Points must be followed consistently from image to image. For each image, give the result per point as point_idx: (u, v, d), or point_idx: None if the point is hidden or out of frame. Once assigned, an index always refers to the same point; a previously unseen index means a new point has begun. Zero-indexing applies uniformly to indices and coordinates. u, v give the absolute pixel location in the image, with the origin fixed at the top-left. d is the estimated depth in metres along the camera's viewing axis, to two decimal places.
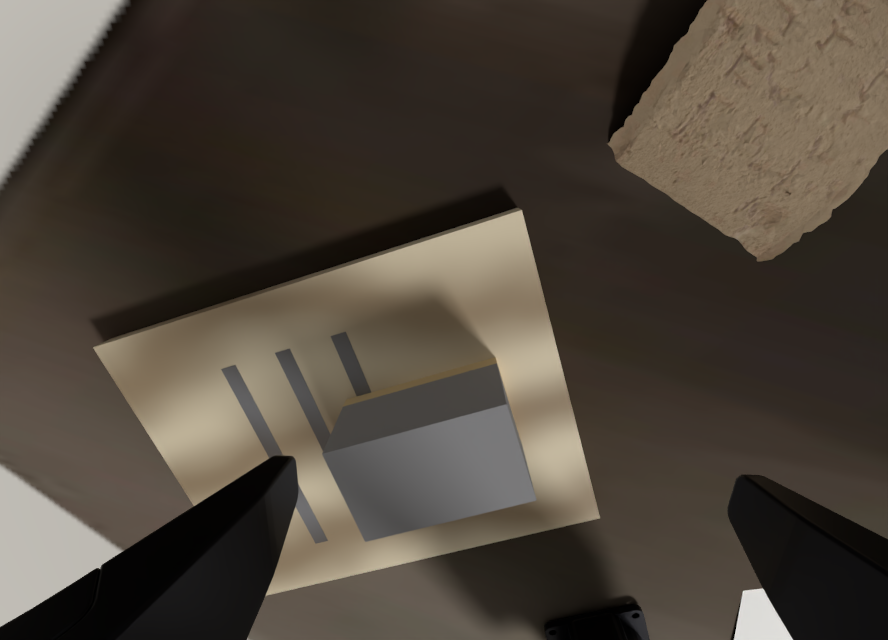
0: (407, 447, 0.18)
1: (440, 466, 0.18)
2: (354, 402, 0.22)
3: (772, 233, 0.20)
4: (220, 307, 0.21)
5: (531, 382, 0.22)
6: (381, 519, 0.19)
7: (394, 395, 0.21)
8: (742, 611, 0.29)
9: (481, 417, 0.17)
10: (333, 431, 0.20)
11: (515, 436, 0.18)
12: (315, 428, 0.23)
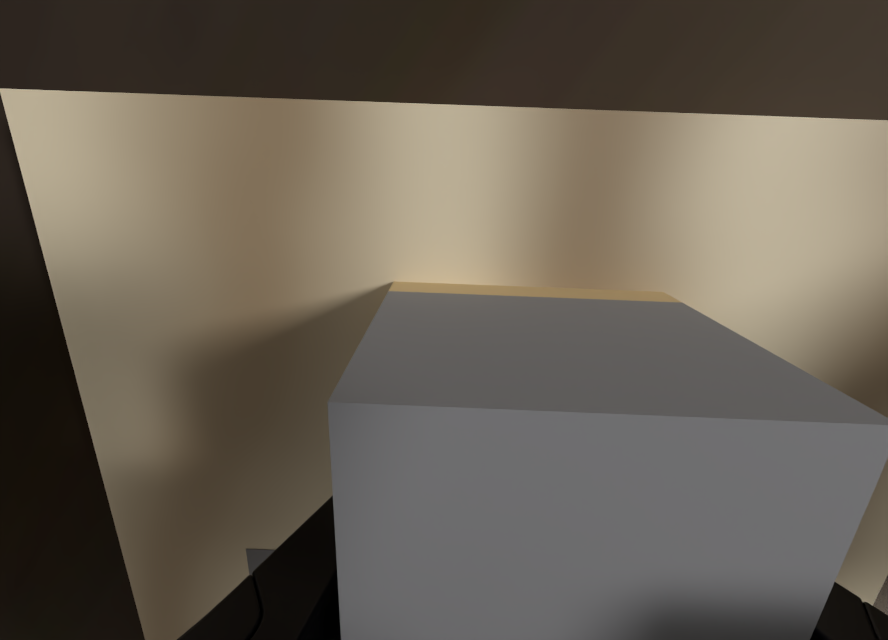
0: None
1: None
2: None
3: None
4: None
5: (501, 210, 0.08)
6: None
7: None
8: None
9: (364, 509, 0.04)
10: None
11: (506, 413, 0.04)
12: None
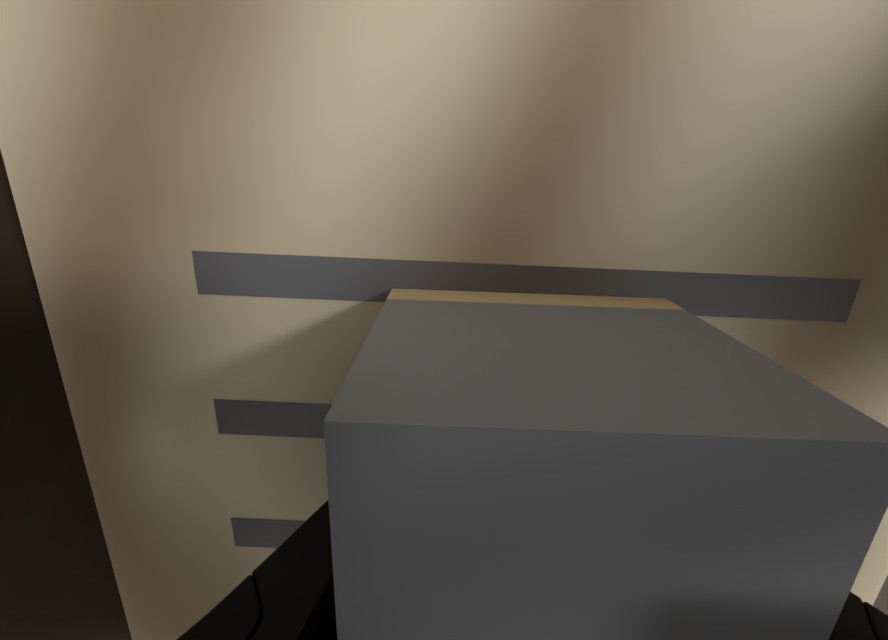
0: None
1: None
2: None
3: None
4: (93, 485, 0.10)
5: None
6: None
7: None
8: None
9: (362, 529, 0.04)
10: None
11: (508, 432, 0.04)
12: None
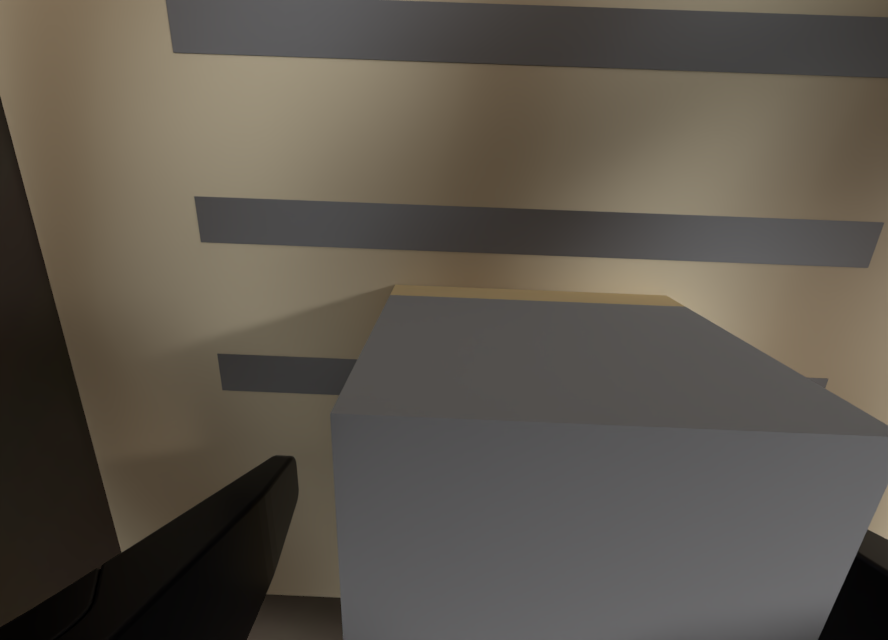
0: None
1: None
2: None
3: None
4: (60, 314, 0.08)
5: None
6: None
7: None
8: None
9: (367, 519, 0.04)
10: None
11: (511, 424, 0.04)
12: (457, 242, 0.08)
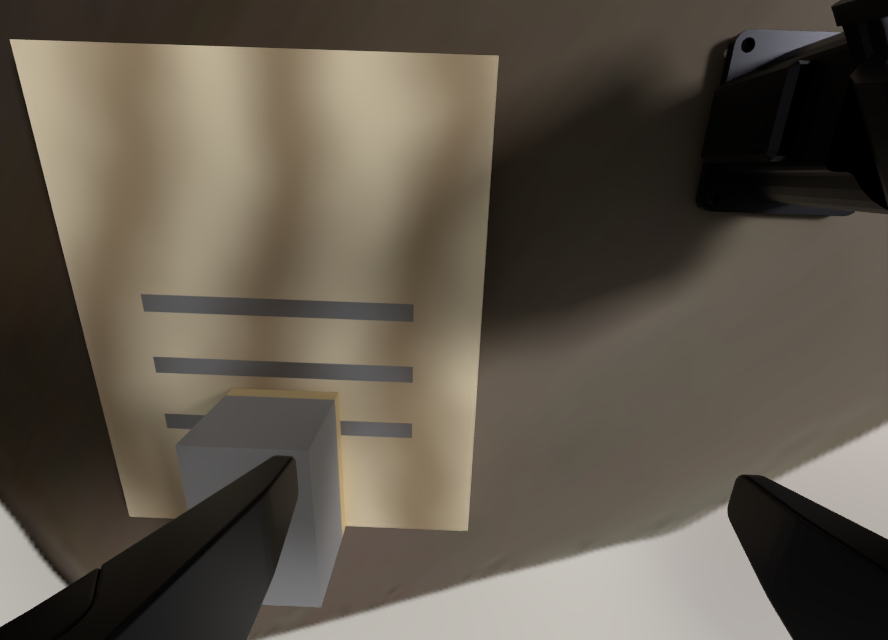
0: None
1: None
2: None
3: None
4: (101, 398, 0.21)
5: (242, 96, 0.16)
6: (295, 586, 0.18)
7: None
8: None
9: (187, 471, 0.17)
10: None
11: (217, 447, 0.16)
12: (254, 373, 0.20)
